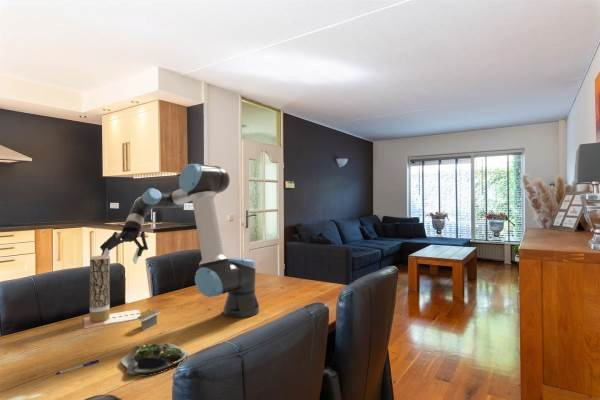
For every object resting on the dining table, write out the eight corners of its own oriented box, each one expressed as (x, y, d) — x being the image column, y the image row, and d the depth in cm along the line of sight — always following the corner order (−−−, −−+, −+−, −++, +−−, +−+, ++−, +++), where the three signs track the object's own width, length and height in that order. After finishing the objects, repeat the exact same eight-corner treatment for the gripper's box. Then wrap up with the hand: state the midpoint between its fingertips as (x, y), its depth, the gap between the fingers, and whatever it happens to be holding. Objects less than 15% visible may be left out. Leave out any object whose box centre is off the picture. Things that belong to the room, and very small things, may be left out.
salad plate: (107, 360, 102) (107, 345, 102) (165, 342, 115) (165, 329, 115) (132, 384, 89) (132, 367, 89) (194, 361, 102) (194, 346, 102)
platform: (116, 335, 121) (116, 317, 121) (150, 318, 139) (150, 302, 139) (144, 339, 118) (144, 320, 118) (176, 321, 136) (176, 305, 136)
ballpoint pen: (98, 361, 101) (98, 358, 101) (99, 362, 101) (99, 359, 101) (55, 374, 93) (55, 371, 93) (56, 376, 93) (56, 372, 93)
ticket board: (142, 318, 138) (142, 317, 138) (84, 328, 127) (84, 327, 127) (138, 310, 148) (138, 309, 148) (84, 319, 137) (84, 317, 137)
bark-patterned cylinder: (100, 323, 130) (100, 258, 130) (85, 322, 132) (85, 257, 132) (113, 317, 137) (113, 255, 137) (99, 316, 138) (99, 255, 138)
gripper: (162, 230, 165) (150, 266, 150) (109, 231, 164) (92, 267, 148) (157, 219, 160) (145, 256, 144) (103, 220, 158) (85, 257, 143)
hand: (118, 262), depth 146 cm, fingers open, 13 cm apart
